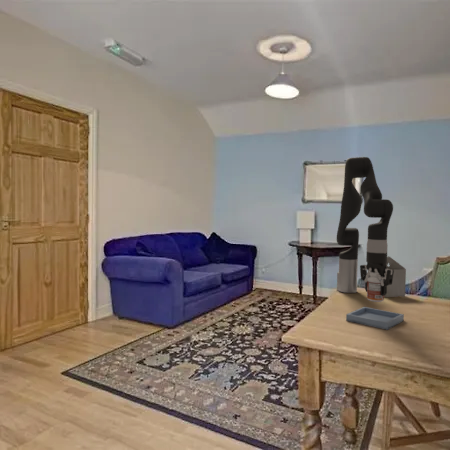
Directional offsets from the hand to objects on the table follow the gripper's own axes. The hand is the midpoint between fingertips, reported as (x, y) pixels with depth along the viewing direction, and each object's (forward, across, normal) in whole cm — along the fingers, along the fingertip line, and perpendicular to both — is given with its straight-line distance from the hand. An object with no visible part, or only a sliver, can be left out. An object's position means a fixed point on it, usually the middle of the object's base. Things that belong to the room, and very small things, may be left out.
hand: (375, 293), depth 151 cm
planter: (+11, -25, +41) cm, 49 cm away
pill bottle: (+3, 0, 0) cm, 3 cm away
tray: (+11, 0, 0) cm, 11 cm away
